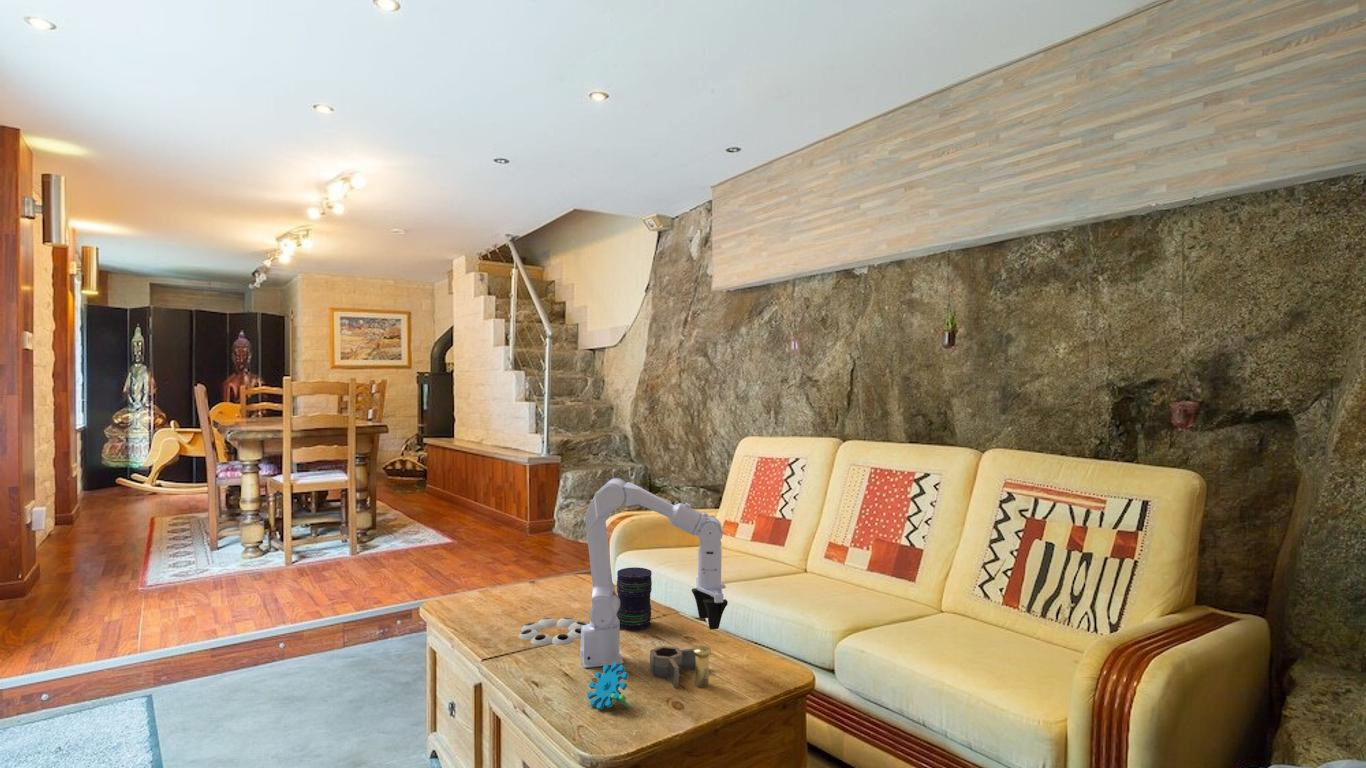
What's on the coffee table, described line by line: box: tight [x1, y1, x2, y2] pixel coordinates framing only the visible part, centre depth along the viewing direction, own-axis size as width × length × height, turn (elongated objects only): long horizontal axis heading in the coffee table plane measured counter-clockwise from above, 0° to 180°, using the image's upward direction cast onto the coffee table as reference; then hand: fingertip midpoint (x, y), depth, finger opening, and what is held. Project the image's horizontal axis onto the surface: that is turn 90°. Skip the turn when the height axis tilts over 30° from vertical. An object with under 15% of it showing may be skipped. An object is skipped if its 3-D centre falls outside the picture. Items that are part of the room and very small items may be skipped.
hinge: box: [649, 645, 696, 689], centre depth 160 cm, size 13×13×4 cm
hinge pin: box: [692, 645, 712, 689], centre depth 155 cm, size 4×4×8 cm
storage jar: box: [616, 567, 653, 632], centre depth 192 cm, size 10×10×15 cm
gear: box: [586, 662, 631, 711], centre depth 146 cm, size 11×6×10 cm
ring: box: [517, 617, 588, 646], centre depth 186 cm, size 20×20×2 cm
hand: (708, 623), depth 167 cm, fingers open, 7 cm apart
